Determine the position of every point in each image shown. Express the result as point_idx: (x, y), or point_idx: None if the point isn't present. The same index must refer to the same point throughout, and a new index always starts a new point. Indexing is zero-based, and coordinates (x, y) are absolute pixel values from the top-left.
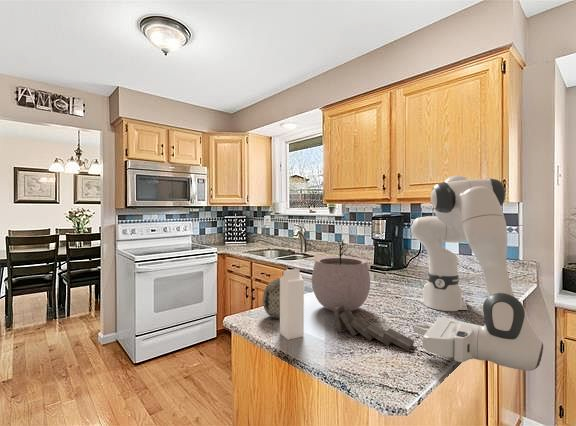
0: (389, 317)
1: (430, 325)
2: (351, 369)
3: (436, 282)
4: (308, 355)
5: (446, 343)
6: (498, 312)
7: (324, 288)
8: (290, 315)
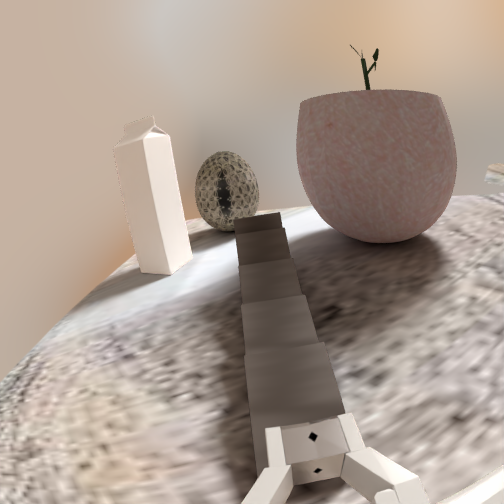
0: (477, 285)
1: (404, 500)
2: (40, 384)
3: None
4: (86, 313)
5: None
6: None
7: (299, 169)
8: (132, 222)
